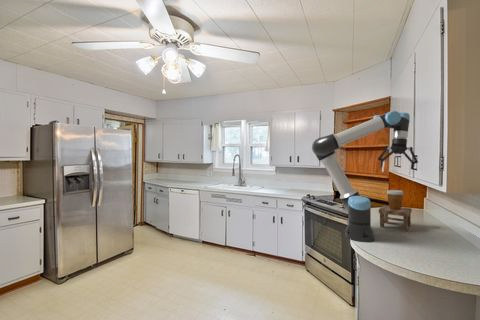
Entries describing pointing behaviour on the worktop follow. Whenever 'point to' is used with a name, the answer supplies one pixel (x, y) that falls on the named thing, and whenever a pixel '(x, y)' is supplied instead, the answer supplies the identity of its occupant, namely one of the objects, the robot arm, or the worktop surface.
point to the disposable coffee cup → (395, 199)
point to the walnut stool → (402, 212)
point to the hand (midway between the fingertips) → (395, 173)
